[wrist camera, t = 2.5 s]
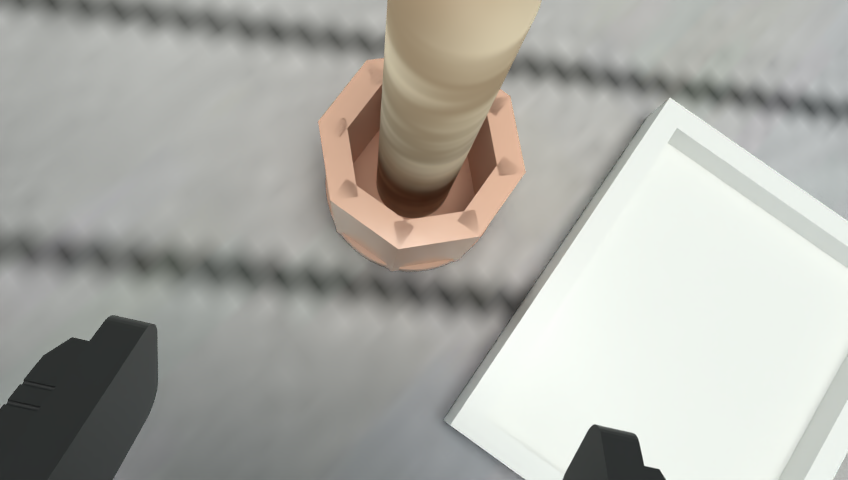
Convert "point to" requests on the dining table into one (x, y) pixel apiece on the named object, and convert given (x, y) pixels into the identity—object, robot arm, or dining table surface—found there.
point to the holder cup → (378, 225)
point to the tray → (679, 323)
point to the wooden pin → (440, 91)
